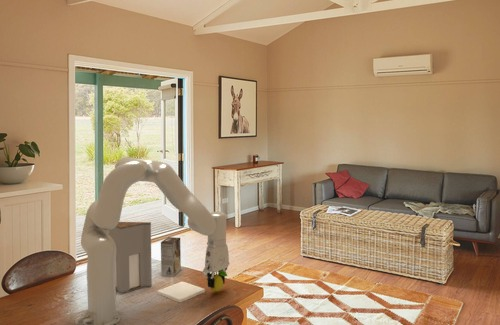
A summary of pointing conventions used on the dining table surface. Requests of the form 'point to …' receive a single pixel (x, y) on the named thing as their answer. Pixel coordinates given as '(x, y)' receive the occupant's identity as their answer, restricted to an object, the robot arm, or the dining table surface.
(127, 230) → the cabinet
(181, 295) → the plate
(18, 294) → the dining table surface
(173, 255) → the coffee box
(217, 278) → the lemon
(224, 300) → the dining table surface
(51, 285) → the dining table surface
